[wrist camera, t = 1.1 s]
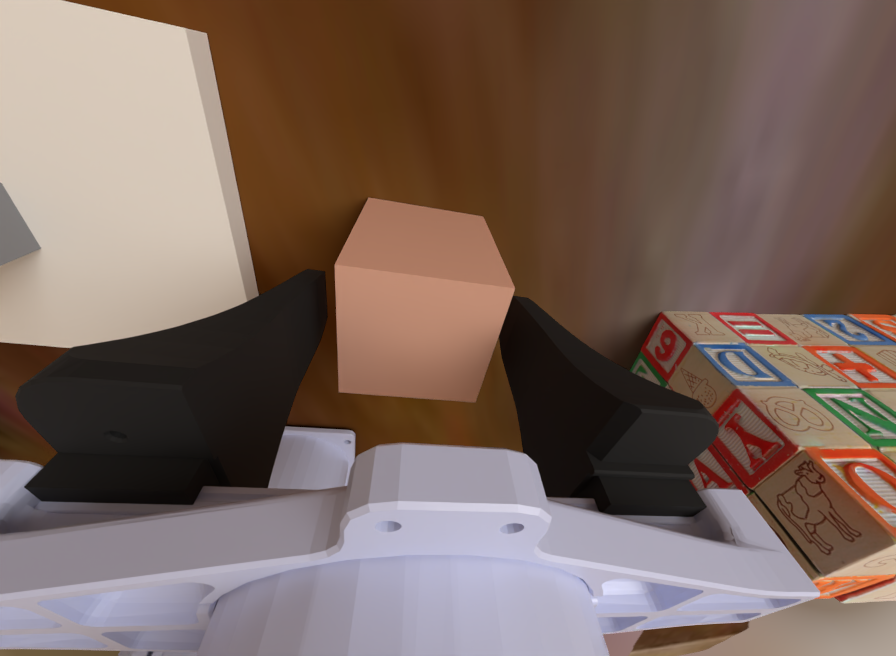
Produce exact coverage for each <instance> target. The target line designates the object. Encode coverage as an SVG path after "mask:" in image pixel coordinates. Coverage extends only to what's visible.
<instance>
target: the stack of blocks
mask: <svg viewBox="0 0 896 656" xmlns="http://www.w3.org/2000/svg"><path fill="white" fill-rule="evenodd" d="M630 372H632V373H634V374H636V375H638V376H640V377H642V378H645V379H647V380H649V381H651V382H653V383H656V384H658V385H660V386H662V387H665V388H667V389H670V390H672V391H675V392H677V393H680V394H683V395H685V396H688V397H690V398H693V399H695V400H698V401H700V402H701V403H702V404H703V405H704V407H705V408H706V409H707V410H708V411H709V412H710V414H711V415H712V416H713V417H714V418H715V419H716V421H717V423H718V424H719V432H718V435H717V437H716V439H715V441H714V442H713V443H712V444H711V445H710V446H709V447H708V448H707V449H706V450H705V451H704V452H702V453H701V454H700V455H699V456H698V457H697V458H695V459H694V460H693V461H692V462H691V463H690V464H688V466H689V467H690V468H691V470H692V471H693V473H694V474H695V478H694V479H693V480H689V481H690V482H691V484H692V485H693V487H694V488H695V490H696V491H697V490H700V489H703V488H729V489H739V490H742V492H743V493H744V494H745V495H746V497H747V498H748V499H749V501H750V502H751V503H752V504H753V506H754V507H755V508H756V510H757V511H758V512H759V514H760V515H761V516H762V517H763V519H764V520H765V521H766V523H767V524H768V525H769V526H770V528H771V529H772V530H773V532H774V533H775V534H776V536H777V537H778V538H779V539H780V541H781V542H782V543H783V545H784V546H785V547H786V548H787V550H788V551H789V552H790V554H791V555H792V556H793V557H794V559H795V560H796V561H797V563H798V564H799V565H800V567H801V568H802V569H803V570H804V572H805V573H806V574H807V576H808V577H809V578H810V579H811V581H812V582H813V583H814V585H815V586H816V587H817V588H818V590H819V591H820V597H818V598H815V599H823V598H832V597H835V598H836V599H837V600H838V601H839V602H841V603H858V602H875V601H895V600H896V315H891V316H890V315H874V314H847V315H809V314H803V315H782V314H754V313H715V312H709V313H707V312H677V311H664V312H661V313H660V315H659V317H658V318H657V320H656V322H655V324H654V326H653V328H652V329H651V331H650V333H649V335H648V337H647V339H646V341H645V342H644V344H643V346H642V348H641V351H640V353H639V355H638V357H637V358H636V360H635V362H634V364H633V366H632V368H631V369H630Z"/></svg>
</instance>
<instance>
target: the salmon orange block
mask: <svg viewBox="0 0 896 656" xmlns="http://www.w3.org/2000/svg"><path fill="white" fill-rule="evenodd" d="M514 290H515V287H514V285H513V283H512V280H511V278H510V276H509V274H508V271H507V269H506V267H505V265H504V262H503V260H502V258H501V256H500V253H499V251H498V249H497V247H496V244H495V242H494V240H493V238H492V235H491V233H490V231H489V229H488V226H487V224H486V222H485V220H484V217H483V216H477V215H471V214H465V213H459V212H453V211H447V210H441V209H435V208H429V207H423V206H417V205H411V204H405V203H399V202H392V201H386V200H380V199H374V198H368V200H367V202H366V204H365V205H364V207H363V209H362V211H361V213H360V215H359V217H358V219H357V221H356V223H355V225H354V227H353V229H352V231H351V233H350V235H349V237H348V239H347V241H346V243H345V245H344V247H343V249H342V251H341V253H340V255H339V257H338V259H337V261H336V263H335V291H336V321H337V351H338V380H339V392H342V393H355V394H369V395H382V396H395V397H409V398H422V399H436V400H449V401H462V402H476V399H477V397H478V394H479V391H480V388H481V385H482V382H483V379H484V376H485V374H486V371H487V368H488V365H489V362H490V359H491V356H492V353H493V351H494V348H495V345H496V342H497V339H498V336H499V333H500V330H501V328H502V325H503V322H504V319H505V316H506V313H507V310H508V307H509V305H510V302H511V299H512V296H513V293H514Z"/></svg>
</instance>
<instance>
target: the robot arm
mask: <svg viewBox="0 0 896 656" xmlns="http://www.w3.org/2000/svg"><path fill="white" fill-rule="evenodd" d="M327 317H328V316H327V298H326V280H325V271H318V270H311V269H307V270H305V271H303V272H301V273H299V274H297V275H295V276H294V277H292V278H290V279H289V280H287V281H285V282H283V283H282V284H280V285H278V286H276V287H274V288H273V289H271V290H269V291H267V292H265V293H263V294H261V295H259V296H257V297H255V298H253V299H251V300H249V301H247V302H245V303H243V304H240V305H238V306H236V307H233V308H231V309H228V310H226V311H223V312H221V313H218V314H215V315H212V316H209V317H206V318H203V319H200V320H197V321H193V322H190V323H187V324H184V325H180V326H177V327H173V328H169V329H165V330H161V331H157V332H152V333H148V334H143V335H139V336H134V337H129V338H124V339H118V340H112V341H106V342H100V343H94V344H88V345H82V346H75V347H72V348H71V349H70V350H68V351H67V352H66V353H64V354H63V355H62V356H60V357H59V358H58V359H56V360H55V361H54V362H52V363H51V364H50V365H48V366H47V367H46V368H44V369H43V370H42V371H40V372H39V373H38V374H36V375H35V376H34V377H32V378H31V379H30V380H28V381H27V382H26V383H24V384H23V385H22V386H20V387H19V389H18V392H17V394H16V401H17V406H18V409H19V411H20V412H21V414H22V415H23V416H24V418H25V419H26V420H27V421H28V422H29V423H30V424H31V425H32V427H33V428H34V429H35V430H36V431H37V432H38V433H39V434H40V435H41V436H42V437H43V438H44V439H45V440H46V441H47V442H48V443H49V444H50V445H51V446H52V447H53V448H54V449H55V450H56V451H57V452H58V453H57V454H56V455H55V456H54V457H53V458H52V459H51V460H50V461H49V462H48V463H47V464H46V465H45V466H42V465H39V464H36V463H33V462H29V461H22V460H0V649H64V650H65V649H66V650H113V651H116V650H117V651H120V653H119V655H118V656H609V653H608V649H607V646H606V644H605V640H604V637H603V634H609V633H620V632H628V631H638V630H648V629H657V628H668V627H678V626H689V625H703V624H718V623H739V622H746V621H749V620H752V619H755V618H758V617H761V616H764V615H767V614H770V613H773V612H776V611H779V610H782V609H785V608H788V607H791V606H794V605H797V604H800V603H803V602H806V601H809V600H812V599H815V598H818V597H820V591H819V590H818V588H817V587H816V586H815V585H814V583H813V582H812V581H811V579H810V578H809V577H808V576H807V574H806V573H805V572H804V570H803V569H802V568H801V567H800V565H799V564H798V563H797V561H796V560H795V559H794V557H793V556H792V555H791V554H790V552H789V551H788V550H787V548H786V547H785V546H784V545H783V543H782V542H781V541H780V539H779V538H778V537H777V536H776V534H775V533H774V532H773V530H772V529H771V528H770V526H769V525H768V524H767V523H766V521H765V520H764V519H763V517H762V516H761V515H760V514H759V512H758V511H757V510H756V508H755V507H754V506H753V504H752V503H751V502H750V501H749V499H748V498H747V497H746V495H745V494H744V493H743V492H742V490H739V489H729V488H703V489H700V490H697V491H696V490H695V488H694V487H693V485H692V484H691V482H690V481H689V480H693V479H694V478H695V474H694V473H693V471H692V470H691V468H690V467H689V466H688V464H690V463H691V462H692V461H693V460H694V459H695V458H697V457H698V456H699V455H700V454H701V453H702V452H704V451H705V450H706V449H707V448H708V447H709V446H710V445H711V444H712V443H713V442H714V441H715V439H716V437H717V435H718V432H719V424H718V423H717V421H716V419H715V418H714V417H713V416H712V415H711V414H710V412H709V411H708V410H707V409H706V408H705V407H704V405H703V404H702V403H701V402H700V401H698V400H695V399H693V398H690V397H688V396H685V395H683V394H680V393H677V392H675V391H672V390H670V389H667V388H665V387H662V386H660V385H658V384H656V383H653V382H651V381H649V380H647V379H645V378H642V377H640V376H638V375H636V374H634V373H632V372H630V371H628V370H627V369H625V368H623V367H621V366H619V365H618V364H616V363H614V362H612V361H610V360H609V359H607V358H605V357H604V356H602V355H601V354H599V353H598V352H596V351H595V350H593V349H591V348H590V347H588V346H587V345H586V344H584V343H583V342H581V341H580V340H579V339H578V338H576V337H575V336H574V335H572V334H571V333H570V332H568V331H567V330H566V329H565V328H564V327H562V326H561V325H560V324H559V323H558V322H556V321H555V320H554V319H553V318H552V317H551V316H549V315H548V314H547V313H546V312H545V311H544V310H543V309H541V308H540V307H539V306H538V305H537V304H535V303H534V302H533V301H532V300H530V299H529V298H525V297H518V296H513V298H512V301H511V303H510V306H509V309H508V312H507V315H506V318H505V320H504V323H503V326H502V329H501V332H500V335H499V340H500V348H501V355H502V359H503V363H504V367H505V370H506V374H507V377H508V381H509V384H510V387H511V391H512V394H513V398H514V401H515V405H516V409H517V414H518V420H519V426H520V432H521V439H522V446H523V453H522V452H518V451H514V450H510V449H505V448H492V447H474V446H456V445H438V444H419V443H391V444H381V445H377V446H375V447H373V448H371V449H369V450H367V451H365V452H363V453H361V454H359V455H358V456H357V457H356V459H355V433H354V432H353V431H351V430H342V429H325V428H308V427H290V426H286V423H287V419H288V416H289V413H290V410H291V407H292V404H293V401H294V398H295V395H296V393H297V390H298V388H299V385H300V383H301V381H302V379H303V377H304V375H305V373H306V370H307V368H308V366H309V364H310V362H311V360H312V358H313V356H314V353H315V351H316V349H317V347H318V345H319V342H320V340H321V338H322V334H323V331H324V328H325V324H326V321H327Z"/></svg>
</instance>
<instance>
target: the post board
mask: <svg viewBox="0 0 896 656" xmlns="http://www.w3.org/2000/svg"><path fill="white" fill-rule="evenodd" d="M257 296H259V294H258V289H257V284H256V279H255V274H254V269H253V264H252V259H251V254H250V249H249V244H248V239H247V234H246V228H245V223H244V218H243V213H242V208H241V203H240V198H239V193H238V188H237V183H236V178H235V173H234V168H233V163H232V158H231V153H230V148H229V143H228V138H227V133H226V128H225V123H224V118H223V113H222V108H221V103H220V98H219V93H218V88H217V83H216V78H215V73H214V68H213V63H212V58H211V53H210V48H209V43H208V38H207V33H203V32H199V31H195V30H190V29H186V28H182V27H177V26H173V25H169V24H164V23H160V22H155V21H151V20H146V19H142V18H138V17H133V16H129V15H124V14H120V13H115V12H111V11H107V10H102V9H98V8H93V7H89V6H84V5H80V4H76V3H71V2H67V1H62V0H0V342H6V343H18V344H29V345H41V346H53V347H65V348H72V347H75V346H82V345H88V344H94V343H100V342H106V341H112V340H118V339H124V338H129V337H134V336H139V335H143V334H148V333H152V332H157V331H161V330H165V329H169V328H173V327H177V326H180V325H184V324H187V323H190V322H193V321H197V320H200V319H203V318H206V317H209V316H212V315H215V314H218V313H221V312H223V311H226V310H228V309H231V308H233V307H236V306H238V305H240V304H243V303H245V302H247V301H249V300H251V299H253V298H255V297H257Z"/></svg>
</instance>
